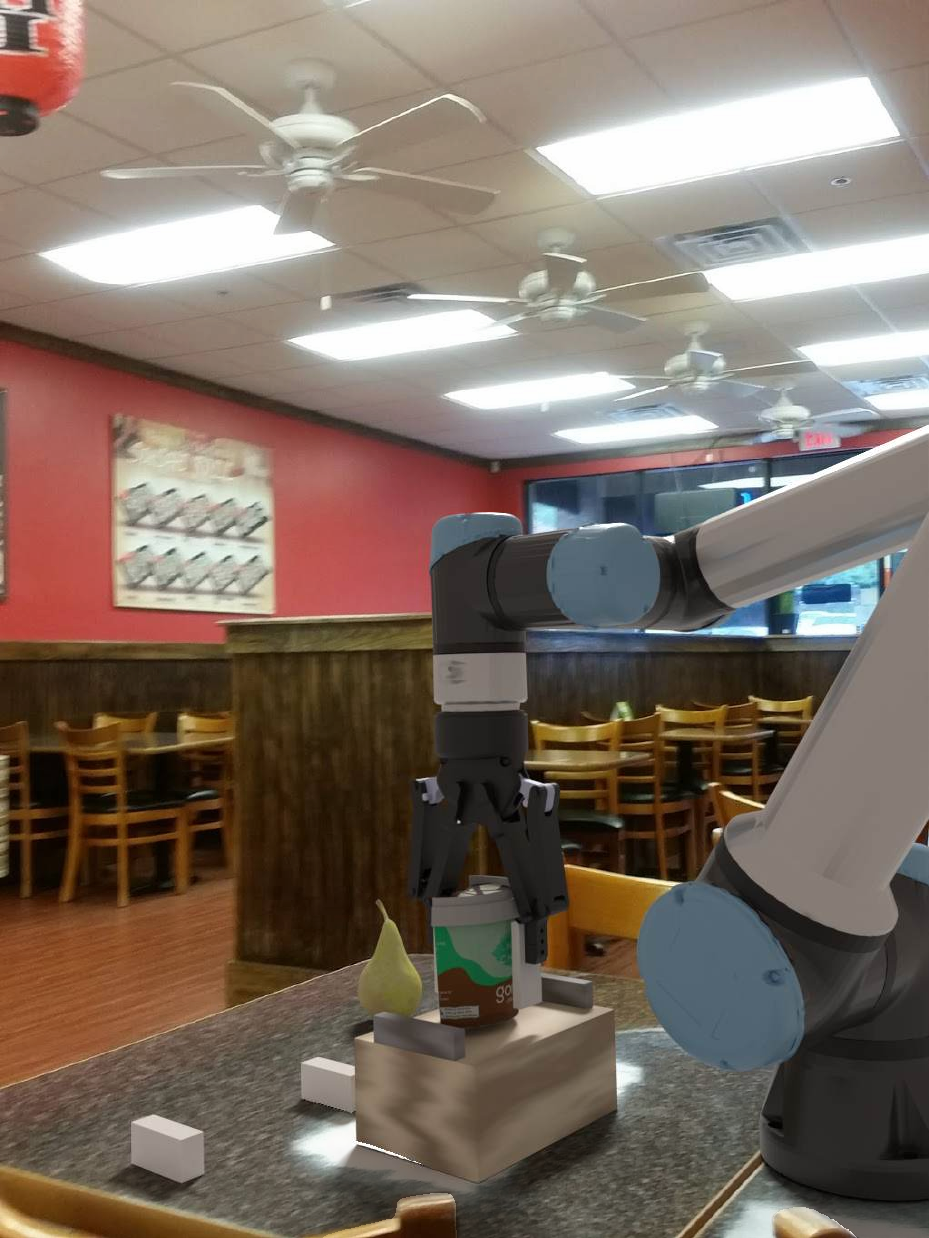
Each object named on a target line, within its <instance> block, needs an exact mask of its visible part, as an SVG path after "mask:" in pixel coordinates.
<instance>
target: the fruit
mask: <svg viewBox="0 0 929 1238" xmlns="http://www.w3.org/2000/svg"><path fill="white" fill-rule="evenodd" d="M375 904H376V905H377V907H378V908H379V910H380V911H381V913H382V915H383V919H384V922H383V925H382V927H381V932H380V934H379V938H378V941H377V945H376V948H375V950H374V953H373V955H372V956H371V958H370V960H369V962H368V963H367V964H366V965H365V967H364V968H363V970H362V971H361V973H360V975H359V980H358V987H357V988H358V989H357V991H358V993H357V994H358V996H357V997H358V1000H359V1002H360V1005H361V1007H362V1009H364V1011H365V1012H366V1013H367V1014H368V1015H370V1016H371V1017H373V1015H376V1014H379V1013H382V1012H388V1013H392V1014H397V1015H402V1016H406V1017H411V1018H412V1016H413V1015H414V1013H415V1012H416V1010H417V1009H418V1008H419V1005H420V1003H421V1000H422V999H421V998H422V994H423V986H422V985H423V984H422V980H421V977H420V974H419V972H418V971H417V970H416V968H415V966H414V964H413V963H412V961H411V960H410V959H409V957H408V955H407V952H406V950H405V946H404V943H403V940H402V937H401V933H400V932H399V929H398V927H397V924H396V923H395V921H393V920H391V919H389V916H388V914H387V912H386V909H385V907H384V904H383V903H382V901H381V900H380V899H377V900H376V901H375Z"/></svg>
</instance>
